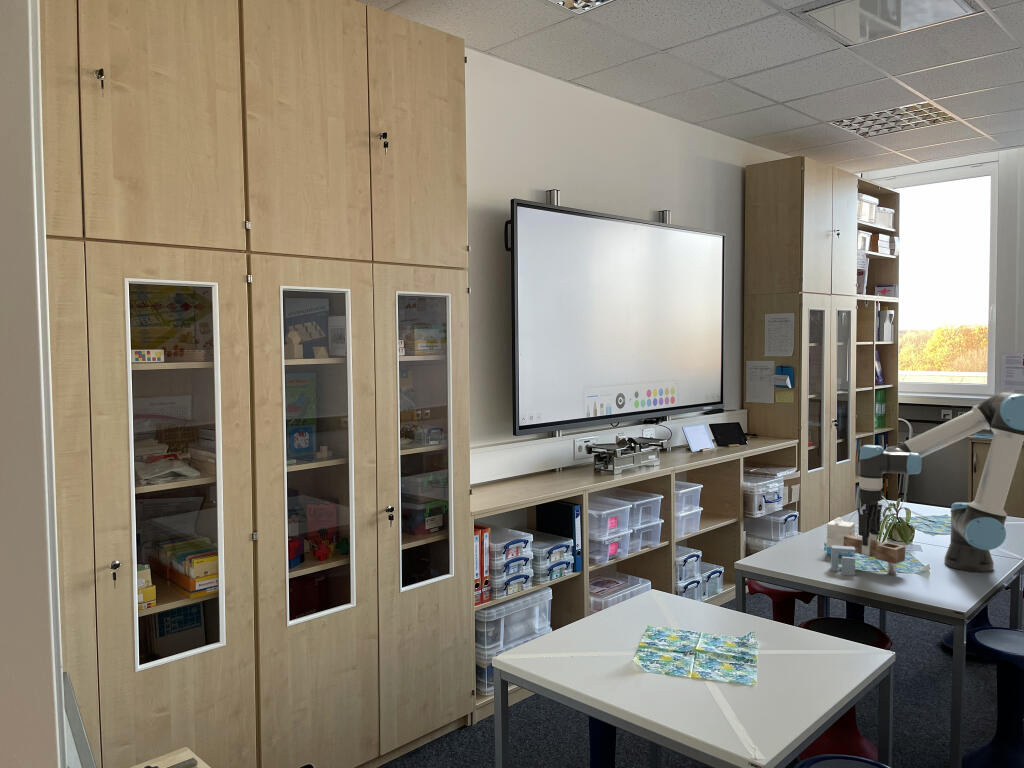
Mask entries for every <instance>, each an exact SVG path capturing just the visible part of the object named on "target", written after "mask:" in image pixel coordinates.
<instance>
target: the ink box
mask: <svg viewBox="0 0 1024 768" xmlns="http://www.w3.org/2000/svg"><path fill="white" fill-rule="evenodd" d="M855 524H856V523H855V522H851V521H844V520H843V518H842V517H840V516H838V517H836V518H834V519H832V520H831V521H829V522H828V523H826V554H827V555H831V545H837V546H843V545H844V536H846V535H852V536H856V535H855V531H856V529H855V528H856V525H855ZM854 553H855V552H842V551H838V556H841V557H842V556H847V557H852V555H853V554H854Z"/></svg>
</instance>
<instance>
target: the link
mask: <svg viewBox="0 0 1024 768" xmlns="http://www.w3.org/2000/svg"><path fill="white" fill-rule="evenodd" d="M843 546H851V547H854V548H855V552H854V553H856V554H860V555H863V556H868V557H872V558H874V559H875V560H879V561H883V562H885V563H888V562H889V563H894V564H899V563H902V562H905V561H906V549H907V548H906V546H905V545H902V544H897V543H893V542H888V541H884V542H883V541H879V540H878V541H877V540H876V541H874V540H871V542H870V555H866V554H862V536H857V535H855V536H852V535H846V536H844V545H843Z"/></svg>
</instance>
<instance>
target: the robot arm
mask: <svg viewBox="0 0 1024 768" xmlns="http://www.w3.org/2000/svg"><path fill="white" fill-rule="evenodd" d="M982 430H987V431H990V430H991V432H992V433H993V436H992V439H991V442H990V446H989V450H988V453H987V456H986V459H985V463H984V466H983V470H982V473H981V477H980V481H979V483H978V488H977V490H976V493H975V494H976V495H975V498H974V500H973V501H971V502H953V503H952V504H951V508H950V543H949V546H948V548H947V551H946V553H945V555H944V564H945V566H947V567H950V568H952V569H953V568H954V569H957V570H960V571H966V572H967V571H968V572H974V573H975V572H976V573H978V572H979V573H984V572H985V573H987V572H991V571H993V570H994V566H995V565H994V564H995V563H994V561H993V560H994V559H993V557H992V554H991V552H990V551H991V550H994V549H998V548H999V547H1000V546H1002V545H1003V543H1004V542H1005V540H1006V538H1007V530H1006V528H1005V522H1006V521H1007V516H1008V514H1007V512H1006V511H1005V510H1004V508H1005V504H1006V501H1007V499H1008V498H1007V497H1008V493H1009V490H1010V489H1011V488H1010V487H1011V484H1012V482H1013V481H1012V480H1013V478H1014V475H1015V471H1016V467H1017V464H1018V462H1019V457H1020V454H1021V450H1022V447H1023V444H1024V393H1017V392H1013V391H1012V392H1011V391H1004V392H1000V393H996V394H995V395H993V396H990V397H989V398H986V399H985V400H983V401H981V402H979V403H977V404H975V405H973V406H972V408H971V410H969V411H967V412H965V413H963V414H961V415H959V416H956V417H955V418H952V419H950V420H948V421H945V422H944V423H942V424H939V425H938V426H935V427H933V428H931V429H929V430H926V431H924V432H923V433H920V434H918V435H916V436H915V437H912V438H910V439H907V440H906V441H904V442H902V443H899V444H896V445H895V446H894V445H893V446H888V447H886V448H885V449H884V447H883V446H882V445H874V444H864V445H862V446H861V447H860V450H859V457H858V458H859V459H858V460H859V467H858V468H859V474H858V475H859V476H858V478H857V479H858V481H859V482H858V483H859V484H858V486H859V489H858V499H860V500H862V502H861V503H862V504H861V508H860V507H858V508H857V514H858V535H859V537H861V538H862V554H861V555H863V554H866V555H865V556H867V555H870V542H871V540H874V541H877V536H880V534H881V520H882V519H881V518H882V510H883V509H882V508H883V505H882V504H879V502H880V501H882V499H883V490H882V489H883V474H899V475H900V474H903V475H918V474H920V473H921V471H922V465H923V464H922V461H923V460H922V458H923V457H926V456H928V455H930V454H932V453H935V452H937V451H939V450H941V449H944V448H945V447H948V446H949V445H952V444H955V443H956V442H959V441H960V440H963V439H965V438H967V437H969V436H971V435H973V434H976V433H978V432H980V431H982Z"/></svg>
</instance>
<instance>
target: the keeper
mask: <svg viewBox="0 0 1024 768" xmlns="http://www.w3.org/2000/svg"><path fill="white" fill-rule="evenodd" d="M838 551H842V552H854V553H855V548H854V547H851V546H837V545H831V554H830V558H831V559H830V569H831V571H832V572H839V555H838ZM841 575H843V576H844V575H845V576H855V575H856V558H855V556H850V557H848V556H841Z"/></svg>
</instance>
